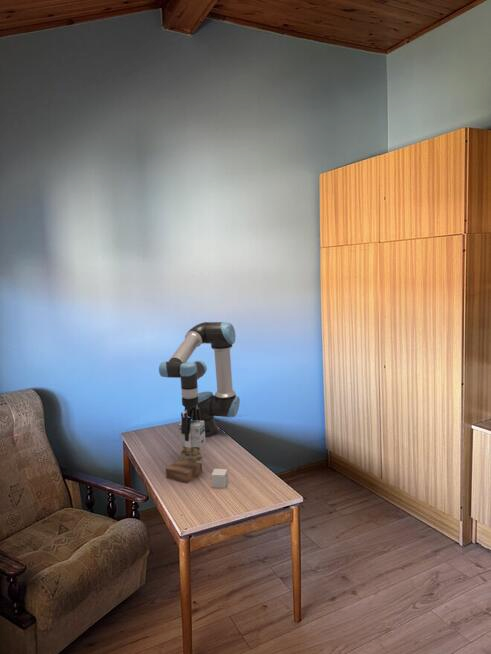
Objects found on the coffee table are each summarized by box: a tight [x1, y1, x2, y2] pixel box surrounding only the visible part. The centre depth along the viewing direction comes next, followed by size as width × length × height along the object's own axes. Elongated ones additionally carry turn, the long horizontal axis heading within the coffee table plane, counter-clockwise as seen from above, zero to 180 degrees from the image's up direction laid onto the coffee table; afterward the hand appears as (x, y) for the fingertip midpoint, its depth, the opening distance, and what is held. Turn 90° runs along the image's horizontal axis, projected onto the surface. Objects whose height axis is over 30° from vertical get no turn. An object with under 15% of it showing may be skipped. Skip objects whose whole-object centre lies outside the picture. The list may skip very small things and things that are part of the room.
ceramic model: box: [180, 446, 203, 462], centre depth 256 cm, size 14×11×10 cm
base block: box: [165, 458, 203, 484], centre depth 235 cm, size 12×12×5 cm
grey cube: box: [210, 468, 229, 489], centre depth 225 cm, size 6×6×6 cm
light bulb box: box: [178, 419, 206, 448], centre depth 233 cm, size 11×7×11 cm, turn 76°
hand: (192, 443), depth 233 cm, fingers closed on light bulb box, 7 cm apart
